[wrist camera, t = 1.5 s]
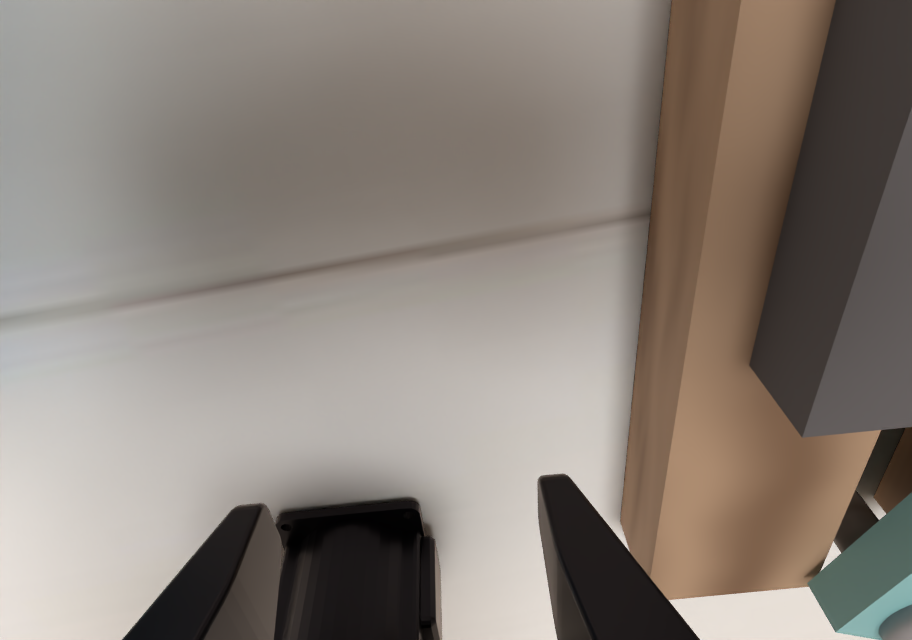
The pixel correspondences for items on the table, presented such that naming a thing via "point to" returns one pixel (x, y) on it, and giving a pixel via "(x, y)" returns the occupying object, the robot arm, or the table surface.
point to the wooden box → (732, 322)
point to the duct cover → (872, 581)
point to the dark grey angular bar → (848, 238)
